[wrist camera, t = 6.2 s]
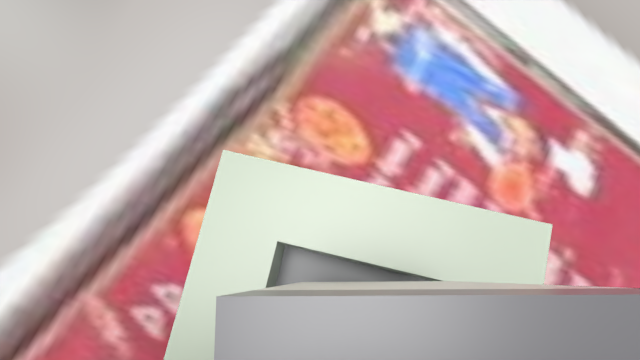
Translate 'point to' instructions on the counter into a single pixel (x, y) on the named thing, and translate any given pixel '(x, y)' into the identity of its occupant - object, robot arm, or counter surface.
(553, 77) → the counter surface
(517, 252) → the sage block
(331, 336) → the white plug block
